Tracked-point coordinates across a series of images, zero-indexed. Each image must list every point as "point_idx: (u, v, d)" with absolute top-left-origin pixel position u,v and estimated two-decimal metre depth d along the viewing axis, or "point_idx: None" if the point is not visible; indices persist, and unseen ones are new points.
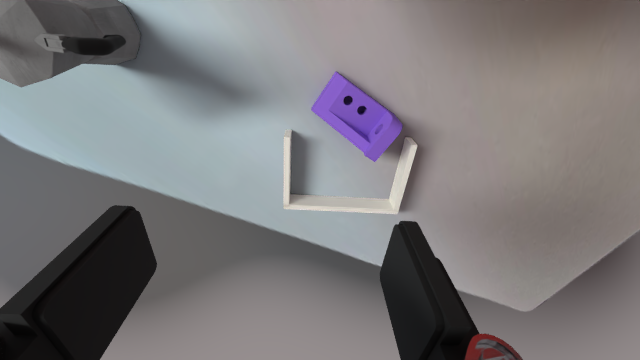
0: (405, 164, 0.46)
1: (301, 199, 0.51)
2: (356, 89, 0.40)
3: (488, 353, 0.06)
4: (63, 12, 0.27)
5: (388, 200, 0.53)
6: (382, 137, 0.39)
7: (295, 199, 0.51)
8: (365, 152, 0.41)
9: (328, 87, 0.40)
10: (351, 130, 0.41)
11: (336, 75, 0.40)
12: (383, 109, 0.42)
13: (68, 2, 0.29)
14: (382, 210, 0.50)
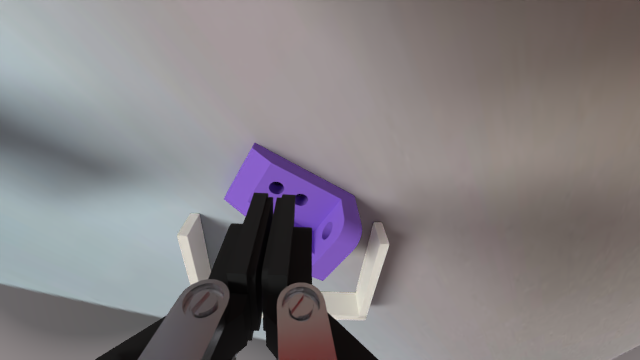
0: (372, 264, 0.31)
1: None
2: (287, 172, 0.25)
3: (292, 302, 0.07)
4: None
5: (354, 296, 0.38)
6: (329, 252, 0.24)
7: None
8: None
9: (243, 169, 0.25)
10: None
11: (252, 152, 0.24)
12: (334, 197, 0.26)
13: None
14: (343, 316, 0.35)
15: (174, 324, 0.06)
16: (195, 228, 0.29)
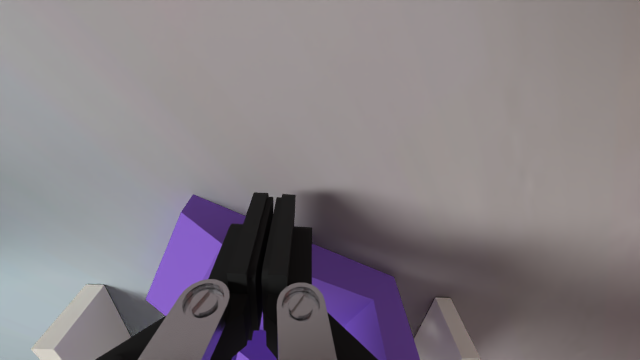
0: None
1: None
2: None
3: (292, 302, 0.07)
4: None
5: None
6: None
7: None
8: None
9: (170, 251, 0.12)
10: None
11: (183, 221, 0.11)
12: (360, 298, 0.13)
13: None
14: None
15: (174, 324, 0.06)
16: (89, 319, 0.14)
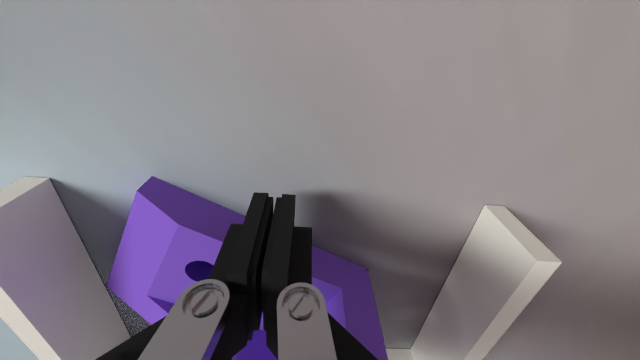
0: (486, 309, 0.12)
1: None
2: (219, 243, 0.11)
3: (292, 302, 0.07)
4: None
5: (409, 357, 0.19)
6: None
7: None
8: None
9: (128, 233, 0.12)
10: None
11: (139, 200, 0.11)
12: (328, 286, 0.13)
13: None
14: None
15: (174, 324, 0.06)
16: (24, 215, 0.11)
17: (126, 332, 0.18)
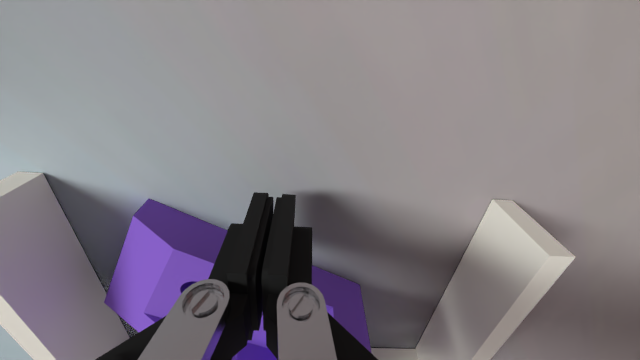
0: (494, 307, 0.12)
1: None
2: None
3: (292, 302, 0.07)
4: None
5: (414, 357, 0.19)
6: None
7: None
8: None
9: (125, 254, 0.12)
10: None
11: (135, 224, 0.11)
12: None
13: None
14: None
15: (174, 324, 0.06)
16: (16, 210, 0.10)
17: (124, 332, 0.17)
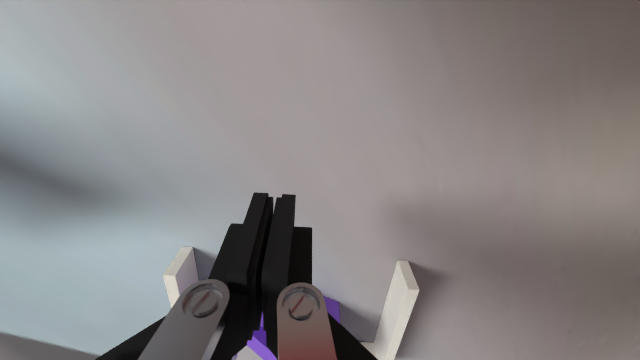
0: (397, 312, 0.25)
1: None
2: None
3: (292, 302, 0.07)
4: None
5: (372, 347, 0.32)
6: None
7: None
8: None
9: None
10: (266, 349, 0.26)
11: None
12: None
13: None
14: None
15: (174, 324, 0.06)
16: (186, 265, 0.24)
17: None
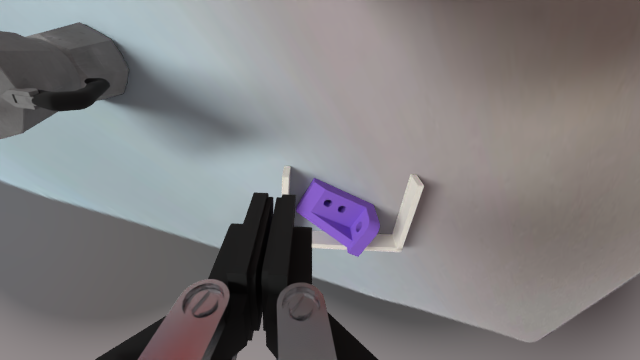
0: (410, 203, 0.43)
1: None
2: (334, 194, 0.43)
3: (292, 302, 0.07)
4: (38, 59, 0.24)
5: (391, 236, 0.50)
6: (361, 238, 0.42)
7: None
8: (348, 249, 0.44)
9: (308, 193, 0.44)
10: (333, 229, 0.45)
11: (314, 184, 0.43)
12: (362, 206, 0.45)
13: (46, 44, 0.26)
14: (385, 248, 0.48)
15: (174, 324, 0.06)
16: (289, 175, 0.42)
17: None
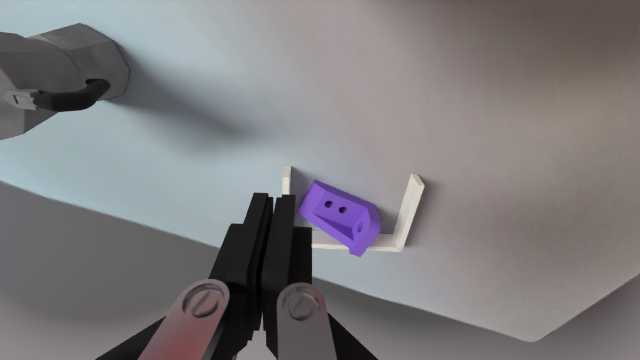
0: (410, 203, 0.43)
1: None
2: (334, 195, 0.43)
3: (292, 302, 0.07)
4: (38, 60, 0.24)
5: (392, 236, 0.50)
6: (363, 238, 0.42)
7: None
8: (350, 249, 0.44)
9: (309, 195, 0.44)
10: (335, 230, 0.45)
11: (315, 185, 0.43)
12: (363, 207, 0.45)
13: (46, 44, 0.26)
14: (386, 248, 0.48)
15: (174, 324, 0.06)
16: (290, 175, 0.42)
17: None
